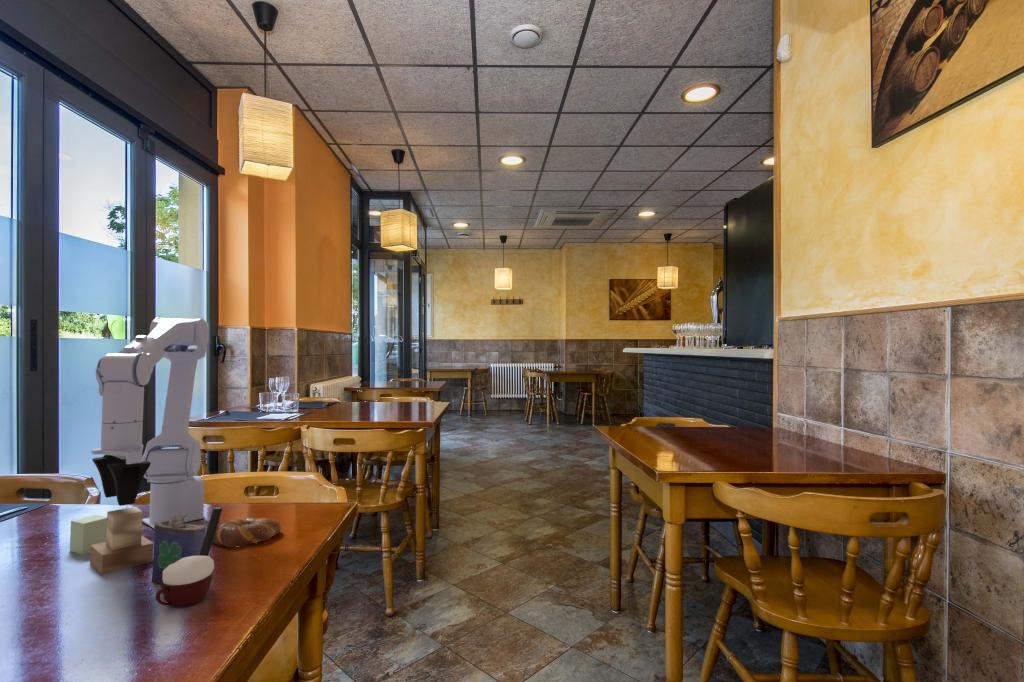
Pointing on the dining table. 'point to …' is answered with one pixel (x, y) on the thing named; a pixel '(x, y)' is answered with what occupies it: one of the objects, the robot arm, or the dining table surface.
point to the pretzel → (245, 531)
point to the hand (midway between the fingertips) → (119, 500)
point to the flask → (175, 543)
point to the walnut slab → (120, 556)
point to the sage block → (87, 533)
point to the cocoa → (190, 573)
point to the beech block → (124, 528)
